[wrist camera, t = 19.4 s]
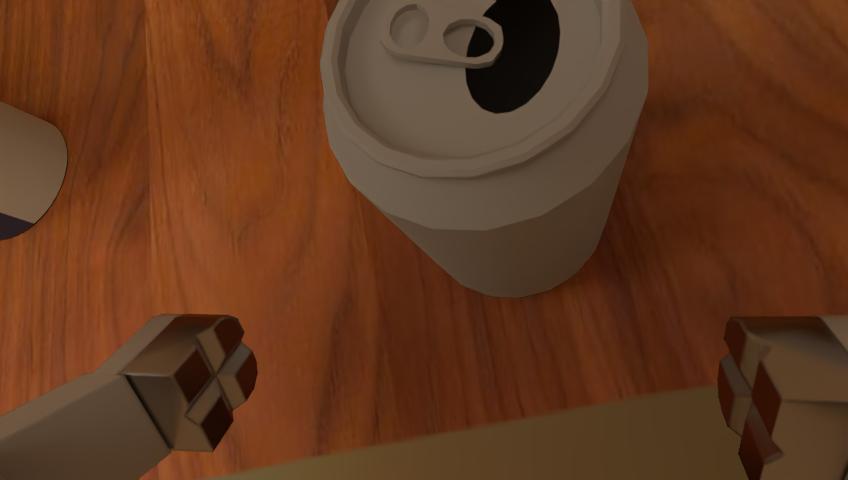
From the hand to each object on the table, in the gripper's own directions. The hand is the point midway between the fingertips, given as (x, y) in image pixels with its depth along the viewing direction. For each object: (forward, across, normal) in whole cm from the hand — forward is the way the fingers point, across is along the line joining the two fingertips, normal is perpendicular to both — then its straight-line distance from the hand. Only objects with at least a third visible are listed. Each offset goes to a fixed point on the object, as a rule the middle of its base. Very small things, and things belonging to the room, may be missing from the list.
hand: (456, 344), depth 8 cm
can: (+13, 0, +4) cm, 13 cm away
